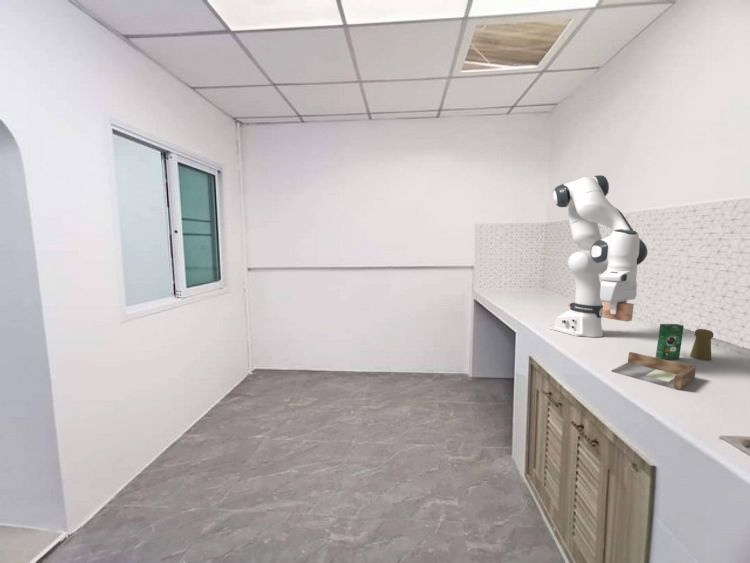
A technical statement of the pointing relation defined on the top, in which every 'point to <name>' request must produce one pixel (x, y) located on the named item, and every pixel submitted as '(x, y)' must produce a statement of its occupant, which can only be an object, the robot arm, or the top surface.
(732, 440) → the top surface
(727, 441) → the top surface
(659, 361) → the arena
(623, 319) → the terracotta block
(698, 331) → the cork
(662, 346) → the coffee box
